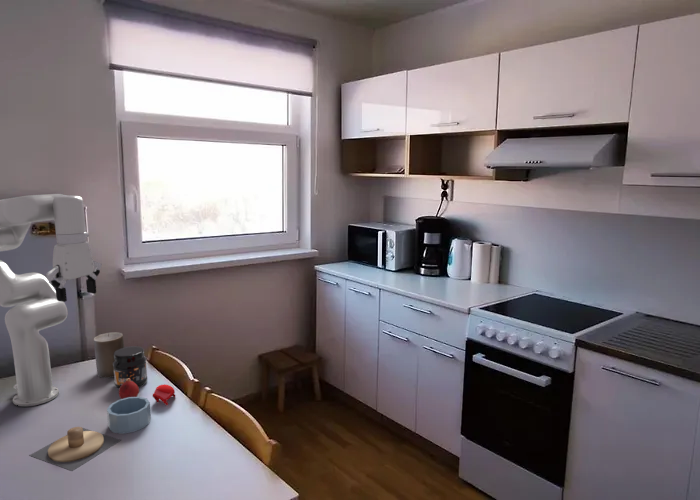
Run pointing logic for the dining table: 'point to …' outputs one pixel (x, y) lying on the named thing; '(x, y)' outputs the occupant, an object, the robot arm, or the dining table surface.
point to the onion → (128, 389)
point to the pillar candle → (107, 352)
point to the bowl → (129, 414)
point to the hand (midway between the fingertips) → (77, 296)
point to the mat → (72, 465)
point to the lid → (75, 445)
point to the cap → (163, 393)
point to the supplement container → (130, 366)
